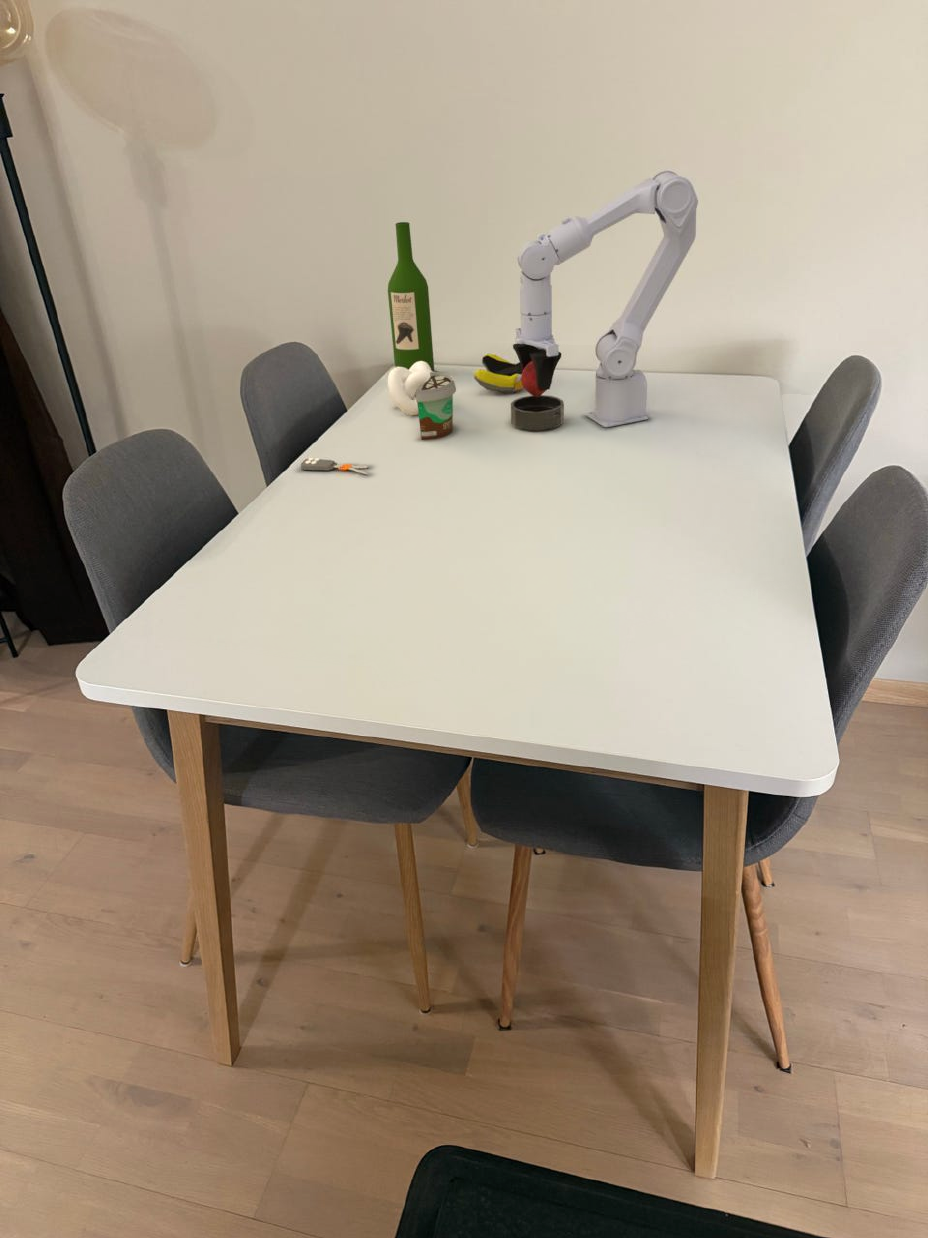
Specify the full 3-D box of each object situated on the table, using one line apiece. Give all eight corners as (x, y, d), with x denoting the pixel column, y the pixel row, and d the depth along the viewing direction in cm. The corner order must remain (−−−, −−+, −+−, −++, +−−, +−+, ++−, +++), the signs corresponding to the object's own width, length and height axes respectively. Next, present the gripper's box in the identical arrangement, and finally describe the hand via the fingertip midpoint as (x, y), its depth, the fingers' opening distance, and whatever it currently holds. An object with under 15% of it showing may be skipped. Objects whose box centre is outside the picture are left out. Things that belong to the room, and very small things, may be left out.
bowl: (549, 411, 182) (549, 392, 180) (572, 426, 174) (572, 406, 172) (503, 420, 179) (502, 400, 177) (524, 436, 171) (523, 415, 169)
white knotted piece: (383, 403, 192) (378, 361, 187) (437, 395, 194) (434, 354, 190) (394, 420, 182) (390, 376, 178) (451, 411, 185) (448, 368, 180)
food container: (451, 443, 170) (447, 391, 165) (419, 442, 171) (415, 391, 166) (464, 420, 180) (461, 371, 175) (434, 420, 181) (430, 370, 176)
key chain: (299, 471, 162) (298, 463, 161) (307, 463, 165) (306, 455, 164) (366, 475, 159) (366, 467, 158) (374, 467, 162) (373, 459, 161)
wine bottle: (392, 381, 205) (376, 227, 188) (400, 369, 212) (386, 220, 195) (430, 381, 204) (418, 225, 186) (437, 369, 211) (427, 218, 194)
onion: (531, 404, 170) (530, 361, 166) (516, 396, 175) (515, 354, 171) (557, 398, 172) (557, 356, 168) (541, 390, 177) (541, 349, 173)
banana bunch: (473, 397, 192) (520, 397, 190) (472, 371, 189) (519, 371, 187) (484, 376, 205) (528, 375, 203) (483, 351, 202) (527, 351, 200)
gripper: (500, 306, 170) (502, 378, 177) (532, 323, 158) (533, 398, 166) (534, 301, 172) (535, 372, 179) (568, 317, 160) (568, 392, 167)
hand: (536, 384), depth 172 cm, fingers closed on onion, 6 cm apart
